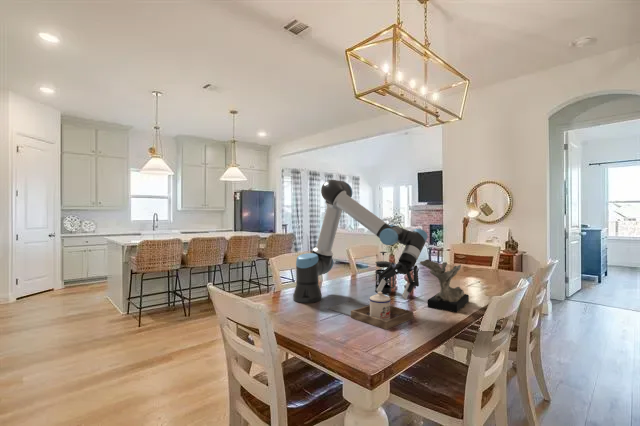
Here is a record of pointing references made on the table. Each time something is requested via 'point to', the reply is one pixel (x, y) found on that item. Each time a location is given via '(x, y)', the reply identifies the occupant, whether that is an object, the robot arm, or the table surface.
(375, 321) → the wooden frame
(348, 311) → the rubber mat
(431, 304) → the coral
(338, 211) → the robot arm
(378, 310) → the teacup with lid
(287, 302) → the table surface
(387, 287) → the french press
